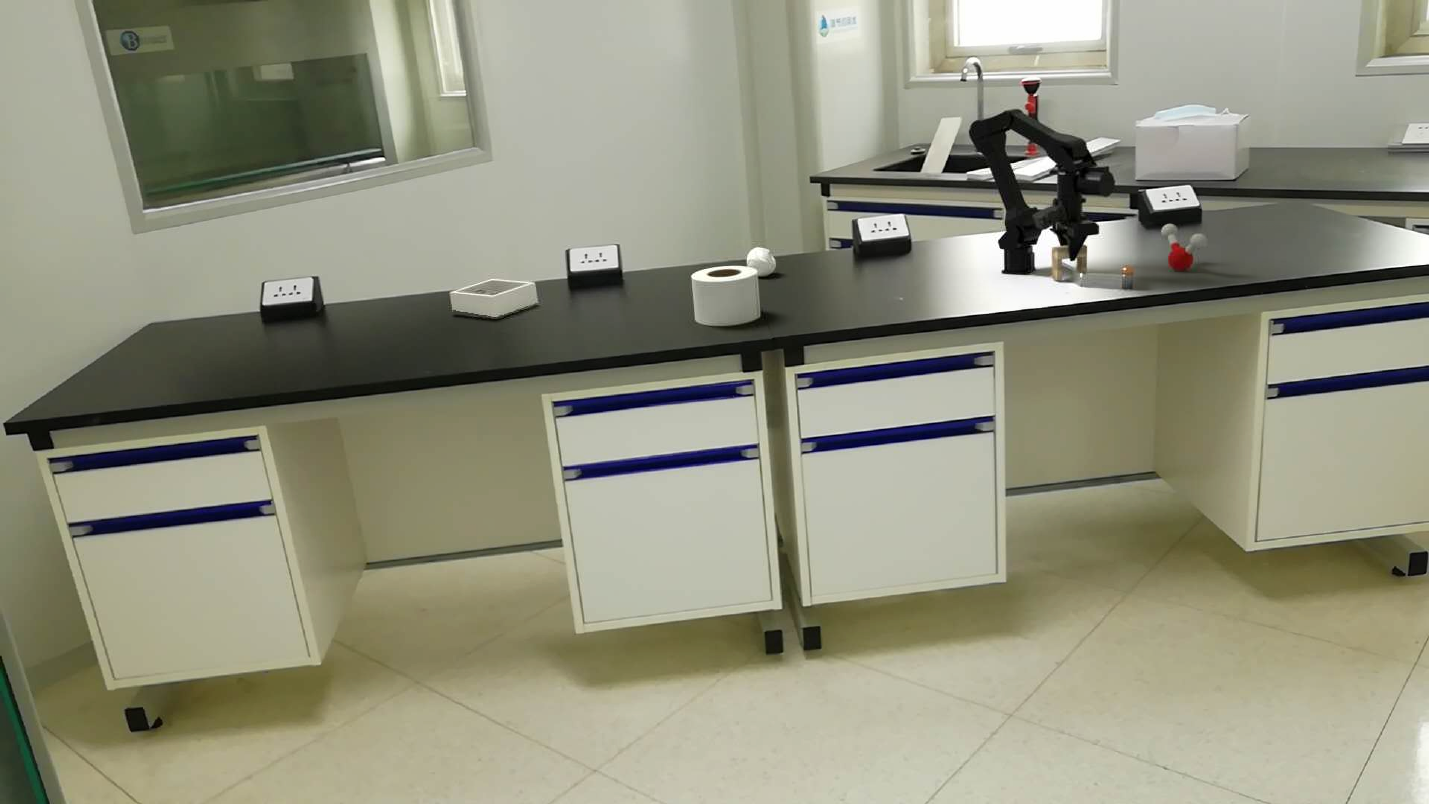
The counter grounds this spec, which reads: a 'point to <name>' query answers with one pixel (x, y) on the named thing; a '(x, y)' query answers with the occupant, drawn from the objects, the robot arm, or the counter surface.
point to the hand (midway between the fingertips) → (1069, 259)
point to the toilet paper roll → (726, 295)
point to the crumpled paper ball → (761, 261)
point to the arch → (1063, 253)
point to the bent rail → (1099, 278)
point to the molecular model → (1182, 248)
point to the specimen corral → (494, 297)
